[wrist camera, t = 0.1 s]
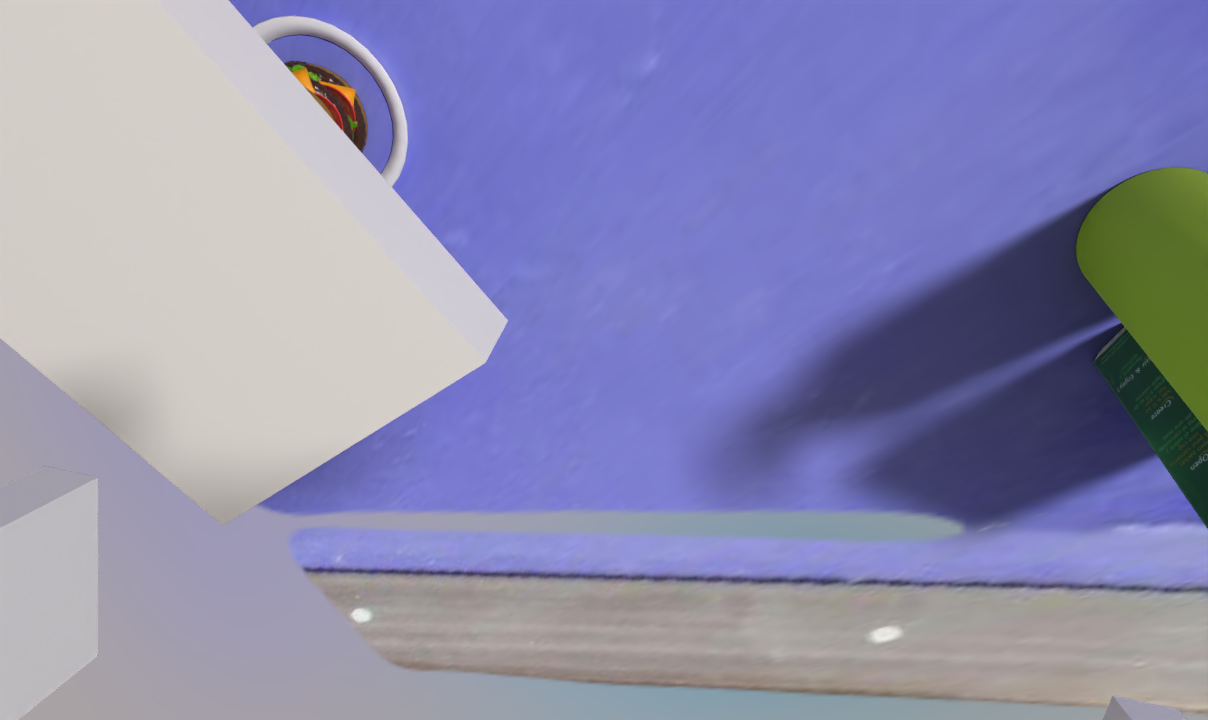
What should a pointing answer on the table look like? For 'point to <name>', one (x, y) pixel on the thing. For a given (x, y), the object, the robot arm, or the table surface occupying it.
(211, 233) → the shelf
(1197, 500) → the coffee box
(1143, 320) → the soap dispenser
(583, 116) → the table surface
